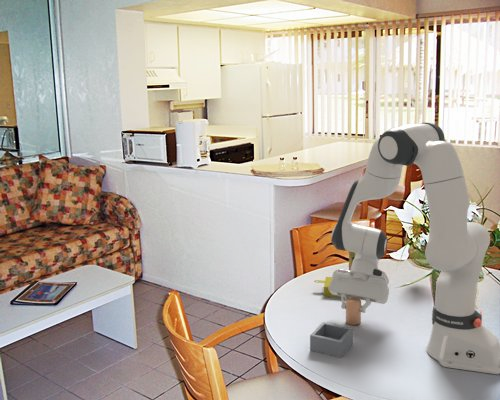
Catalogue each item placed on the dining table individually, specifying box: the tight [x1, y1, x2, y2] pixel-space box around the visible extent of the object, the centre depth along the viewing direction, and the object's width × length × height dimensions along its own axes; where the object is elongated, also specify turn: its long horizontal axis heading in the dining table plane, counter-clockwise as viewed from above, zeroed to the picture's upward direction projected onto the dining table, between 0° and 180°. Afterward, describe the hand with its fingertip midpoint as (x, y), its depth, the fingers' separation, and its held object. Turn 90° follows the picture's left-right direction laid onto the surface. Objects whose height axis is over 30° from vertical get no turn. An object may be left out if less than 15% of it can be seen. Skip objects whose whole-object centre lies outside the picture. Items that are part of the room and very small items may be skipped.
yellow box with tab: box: [314, 276, 341, 298], centre depth 211 cm, size 16×8×15 cm
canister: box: [345, 297, 362, 326], centre depth 185 cm, size 5×5×8 cm
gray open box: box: [309, 321, 354, 359], centre depth 169 cm, size 10×10×5 cm
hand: (352, 310), depth 184 cm, fingers closed on canister, 5 cm apart
